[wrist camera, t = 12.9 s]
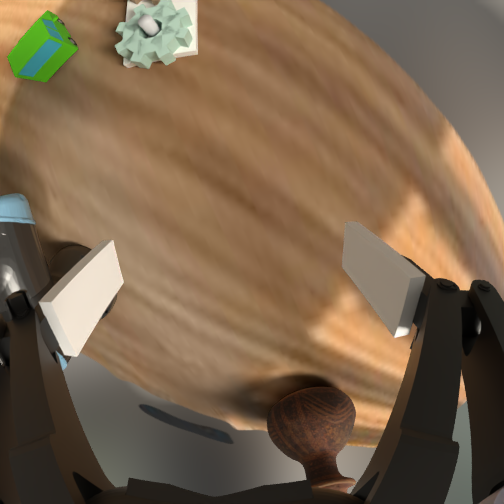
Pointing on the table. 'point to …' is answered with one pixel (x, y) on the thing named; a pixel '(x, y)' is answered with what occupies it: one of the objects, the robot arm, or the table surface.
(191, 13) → the gear board
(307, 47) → the table surface
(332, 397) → the brown wooden bulbous vase
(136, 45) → the loose gear
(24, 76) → the toy car
